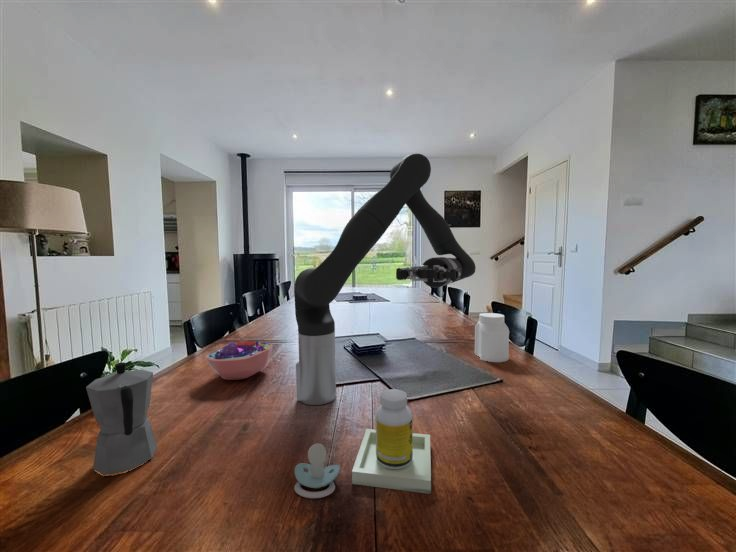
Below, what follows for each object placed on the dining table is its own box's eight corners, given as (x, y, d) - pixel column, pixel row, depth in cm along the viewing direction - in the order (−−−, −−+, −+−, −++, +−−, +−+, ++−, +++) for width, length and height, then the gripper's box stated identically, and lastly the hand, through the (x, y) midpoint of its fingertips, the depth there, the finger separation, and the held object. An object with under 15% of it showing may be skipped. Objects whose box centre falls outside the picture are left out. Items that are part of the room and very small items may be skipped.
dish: (352, 483, 50) (351, 471, 50) (366, 438, 62) (366, 428, 62) (430, 494, 48) (430, 480, 48) (430, 445, 60) (430, 434, 60)
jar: (512, 362, 105) (513, 318, 104) (483, 362, 105) (484, 318, 104) (497, 351, 116) (498, 311, 115) (472, 352, 116) (472, 312, 115)
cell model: (286, 370, 99) (285, 335, 99) (229, 395, 83) (227, 353, 82) (252, 361, 108) (250, 329, 108) (194, 381, 92) (192, 343, 91)
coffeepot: (90, 454, 58) (83, 360, 57) (151, 434, 65) (146, 349, 63) (94, 501, 47) (85, 385, 46) (167, 471, 53) (161, 368, 52)
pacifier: (335, 503, 47) (342, 473, 52) (333, 464, 46) (341, 438, 52) (287, 500, 47) (299, 471, 53) (285, 461, 47) (298, 436, 53)
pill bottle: (411, 473, 51) (411, 405, 50) (372, 468, 53) (371, 402, 52) (413, 449, 58) (413, 388, 57) (379, 445, 59) (378, 385, 58)
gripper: (414, 257, 84) (386, 258, 70) (468, 257, 77) (449, 258, 63) (414, 285, 85) (387, 291, 71) (467, 287, 78) (449, 294, 64)
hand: (416, 275), depth 67 cm, fingers open, 8 cm apart
